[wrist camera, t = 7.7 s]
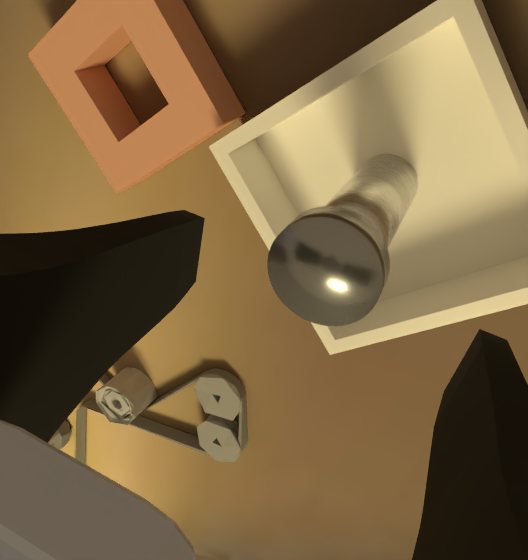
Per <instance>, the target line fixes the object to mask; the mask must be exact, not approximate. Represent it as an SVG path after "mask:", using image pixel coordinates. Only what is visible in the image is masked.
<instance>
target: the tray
mask: <svg viewBox="0 0 528 560" xmlns="http://www.w3.org/2000/svg"><path fill="white" fill-rule="evenodd" d="M209 148H210V150H211V151H212V153H213V155H214V157H215V158H216V160H217V162H218V163H219V165H220V167H221V169H222V170H223V172H224V174H225V175H226V177H227V179H228V181H229V182H230V184H231V186H232V187H233V189H234V191H235V193H236V194H237V196H238V198H239V199H240V201H241V203H242V205H243V206H244V208H245V210H246V212H247V213H248V215H249V217H250V218H251V220H252V222H253V224H254V225H255V227H256V229H257V230H258V232H259V234H260V236H261V237H262V239H263V241H264V242H265V244H266V246H267V248H268V249H269V251H270V248H271V245H272V243H273V241H274V240H275V239H276V237H277V236H278V235H279V234H280V233H281V232H282V231H283V230H284V229H285V228H286V227H287V226H288V225H289V224H290V223H291V222H292V221H293V220H294V219H295V218H296V217H297V216H298V215H300V214H301V213H303V212H305V211H307V210H309V209H312V208H316V207H321V206H326V204H327V203H328V202H329V201H330V200H331V199H332V198H333V197H334V196H335V195H336V194H337V192H338V191H339V190H340V189H341V188H342V187H343V186H344V185H345V184H346V183H347V182H348V181H349V179H350V178H351V177H352V176H353V175H354V174H355V173H356V172H357V171H358V170H359V169H360V167H361V166H362V165H363V164H364V163H365V162H366V161H367V160H369V159H370V158H372V157H374V156H376V155H380V154H394V155H397V156H400V157H402V158H403V159H405V160H406V161H408V162H409V163H410V164H411V166H412V167H413V169H414V170H415V172H416V175H417V179H418V189H417V193H416V195H415V198H414V199H413V201H412V203H411V205H410V207H409V209H408V211H407V213H406V215H405V217H404V218H403V220H402V222H401V224H400V226H399V228H398V230H397V232H396V234H395V236H394V237H393V239H392V241H391V243H390V245H389V247H388V252H389V258H390V271H389V276H388V279H387V282H386V284H385V286H384V288H383V290H382V292H381V295H380V297H379V299H378V301H377V303H376V305H375V306H374V308H373V309H372V310H371V311H370V312H369V313H368V314H367V315H366V316H365V317H363V318H362V319H360V320H358V321H357V322H354V323H351V324H348V325H344V326H324V325H319V324H315V323H312V322H311V323H312V325H313V327H314V328H315V330H316V332H317V334H318V335H319V337H320V339H321V340H322V342H323V344H324V346H325V347H326V349H327V351H328V352H329V354H330V355H331V354H335V353H339V352H343V351H347V350H350V349H354V348H358V347H362V346H366V345H370V344H374V343H378V342H381V341H385V340H389V339H393V338H397V337H401V336H405V335H409V334H413V333H416V332H420V331H424V330H428V329H432V328H436V327H440V326H444V325H447V324H451V323H455V322H459V321H463V320H467V319H471V318H475V317H478V316H482V315H486V314H490V313H494V312H498V311H502V310H506V309H510V308H513V307H517V306H521V305H525V304H528V111H527V108H526V106H525V103H524V101H523V99H522V96H521V94H520V91H519V89H518V87H517V84H516V82H515V79H514V77H513V74H512V72H511V70H510V67H509V65H508V62H507V60H506V58H505V55H504V53H503V50H502V48H501V46H500V43H499V41H498V38H497V36H496V34H495V31H494V29H493V26H492V24H491V21H490V19H489V17H488V14H487V12H486V9H485V7H484V5H483V2H482V0H437V1H435V2H434V3H432V4H431V5H429V6H427V7H426V8H424V9H423V10H421V11H420V12H418V13H416V14H415V15H413V16H412V17H410V18H409V19H407V20H406V21H404V22H402V23H401V24H399V25H398V26H396V27H395V28H393V29H392V30H390V31H388V32H387V33H385V34H384V35H382V36H381V37H379V38H377V39H376V40H374V41H373V42H371V43H370V44H368V45H367V46H365V47H363V48H362V49H360V50H359V51H357V52H356V53H354V54H353V55H351V56H349V57H348V58H346V59H345V60H343V61H342V62H340V63H338V64H337V65H335V66H334V67H332V68H331V69H329V70H328V71H326V72H324V73H323V74H321V75H320V76H318V77H317V78H315V79H314V80H312V81H310V82H309V83H307V84H306V85H304V86H303V87H301V88H299V89H298V90H296V91H295V92H293V93H292V94H290V95H289V96H287V97H285V98H284V99H282V100H281V101H279V102H278V103H276V104H275V105H273V106H271V107H270V108H268V109H267V110H265V111H264V112H262V113H260V114H259V115H257V116H256V117H254V118H253V119H251V120H250V121H248V122H246V123H245V124H243V125H242V126H240V127H239V128H237V129H236V130H234V131H232V132H231V133H229V134H228V135H226V136H225V137H223V138H221V139H220V140H218V141H217V142H215V143H214V144H212V145H211V146H209Z"/></svg>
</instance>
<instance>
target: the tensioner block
mask: <svg viewBox="0 0 528 560" xmlns="http://www.w3.org/2000/svg"><path fill="white" fill-rule="evenodd" d="M131 41H132V42H133V44H134V46H135V48H136V49H137V51H138V53H139V54H140V56H141V58H142V59H143V61H144V63H145V65H146V66H147V68H148V70H149V71H150V73H151V75H152V76H153V78H154V80H155V81H156V83H157V85H158V87H159V88H160V90H161V92H162V93H163V95H164V97H165V98H166V100H167V102H168V105H167V106H166V107H165V108H163V109H162V110H161V111H159V112H158V113H157V114H155V115H154V116H153V117H151V118H150V119H149V120H147V121H146V122H145V123H143V124H142V125H141V124H140V123H139V121H138V120H137V118H136V116H135V115H134V113H133V111H132V110H131V108H130V106H129V105H128V103H127V101H126V100H125V98H124V97H123V95H122V93H121V92H120V90H119V88H118V87H117V85H116V83H115V82H114V80H113V78H112V77H111V75H110V74H109V72H108V70H107V69H106V67H105V65H106V64H107V63H108V62H109V61H110V60H111V59H112V58H113V57H114V56H115V55H117V54H118V53H119V52H120V51H121V50H122V49H123V48H124V47H125V46H126V45H127V44H128V43H129V42H131ZM28 56H29V58H30V59H31V61H32V62H33V64H34V66H35V67H36V69H37V70H38V72H39V73H40V75H41V76H42V78H43V80H44V81H45V83H46V84H47V86H48V87H49V89H50V90H51V92H52V94H53V95H54V97H55V98H56V100H57V101H58V103H59V104H60V106H61V108H62V109H63V111H64V112H65V114H66V115H67V117H68V118H69V120H70V122H71V123H72V125H73V126H74V128H75V129H76V131H77V132H78V134H79V136H80V137H81V139H82V140H83V142H84V143H85V145H86V146H87V148H88V150H89V151H90V153H91V154H92V156H93V157H94V159H95V160H96V162H97V164H98V165H99V167H100V168H101V170H102V171H103V173H104V174H105V176H106V178H107V179H108V181H109V182H110V184H111V185H112V187H113V188H114V190H115V192H116V193H117V194H118V193H120V192H122V191H124V190H126V189H128V188H130V187H132V186H134V185H136V184H138V183H140V182H142V181H143V180H145V179H146V178H148V177H149V176H151V175H153V174H154V173H156V172H157V171H159V170H160V169H162V168H163V167H165V166H166V165H168V164H169V163H171V162H172V161H174V160H175V159H177V158H178V157H180V156H182V155H183V154H185V153H186V152H188V151H189V150H191V149H192V148H194V147H195V146H197V145H198V144H200V143H201V142H203V141H204V140H206V139H207V138H209V137H211V136H212V135H214V134H215V133H217V132H218V131H220V130H221V129H223V128H224V127H226V126H227V125H229V124H230V123H232V122H233V121H235V120H236V119H238V118H239V117H241V116H243V115H244V114H246V113H245V111H244V109H243V107H242V106H241V104H240V102H239V100H238V98H237V97H236V95H235V93H234V91H233V89H232V88H231V86H230V84H229V82H228V80H227V79H226V77H225V75H224V73H223V71H222V70H221V68H220V66H219V64H218V62H217V60H216V59H215V57H214V55H213V53H212V51H211V50H210V48H209V46H208V44H207V42H206V41H205V39H204V37H203V35H202V33H201V32H200V30H199V28H198V26H197V24H196V23H195V21H194V19H193V17H192V15H191V14H190V12H189V10H188V8H187V6H186V5H185V3H184V1H183V0H77V1H76V2H75V3H74V4H73V5H72V6H71V8H70V9H69V10H68V11H67V12H66V13H65V14H64V15H63V16H62V18H61V19H60V20H59V21H58V22H57V23H56V24H55V25H54V26H53V28H52V29H51V30H50V31H49V32H48V33H47V34H46V35H45V36H44V37H43V39H42V40H41V41H40V42H39V43H38V44H37V45H36V46H35V47H34V49H33V50H32V51H31V52H30V53H29V54H28Z"/></svg>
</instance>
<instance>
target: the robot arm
mask: <svg viewBox="0 0 528 560" xmlns="http://www.w3.org/2000/svg"><path fill="white" fill-rule="evenodd" d="M204 219H205V218H203V217H200V216H198V215H195V214H193V213H190V212H188V211H185V210H181V211H173V212H167V213H162V214H157V215H152V216H147V217H142V218H137V219H132V220H127V221H122V222H117V223H112V224H105V225H99V226H93V227H87V228H81V229H74V230H66V231H55V232H43V233H20V234H0V560H196V557H195V552H194V549H193V546H192V544H191V543H190V542H189V540H188V539H187V538H186V536H185V535H184V533H183V532H182V531H181V529H180V528H179V527H178V525H177V524H176V523H175V521H173V520H172V519H171V518H170V517H168V516H167V515H166V514H164V513H163V512H162V511H160V510H159V509H158V508H157V507H155V506H154V505H153V504H151V503H150V502H149V501H147V500H146V499H144V498H142V497H141V496H139V495H137V494H135V493H134V492H132V491H130V490H128V489H127V488H125V487H123V486H122V485H120V484H118V483H116V482H115V481H113V480H111V479H109V478H108V477H106V476H104V475H102V474H101V473H99V472H97V471H96V470H94V469H92V468H90V467H89V466H87V465H85V464H83V463H82V462H80V461H78V460H76V459H75V458H73V457H71V456H69V455H68V454H66V453H64V452H63V451H61V450H59V449H57V448H56V447H54V446H52V445H50V444H49V443H48V442H49V440H50V439H51V438H52V436H53V435H54V434H55V433H56V431H57V430H58V429H59V427H60V426H61V425H62V423H63V422H64V421H65V420H66V419H67V417H68V416H69V415H70V414H71V413H72V411H73V410H74V409H75V408H76V406H77V405H78V404H79V403H80V402H81V400H82V399H83V398H84V397H85V396H86V394H87V393H88V392H89V391H90V390H91V389H92V388H93V386H94V385H95V384H96V383H97V382H98V381H99V380H100V378H101V377H102V376H103V375H104V374H105V373H106V372H107V370H108V369H109V368H110V367H111V366H112V365H113V364H114V363H115V362H116V361H117V360H118V359H119V358H120V357H121V356H122V355H124V354H125V353H126V352H127V351H128V350H129V349H130V348H131V347H132V346H133V345H135V344H136V343H137V342H138V341H139V340H140V339H141V338H142V337H143V336H144V335H146V334H147V333H148V332H149V331H150V330H151V329H152V328H153V327H154V326H156V325H157V324H158V323H159V322H160V321H161V320H162V319H163V318H164V317H165V316H166V315H167V314H168V313H169V312H171V311H172V310H173V309H174V308H175V307H176V305H177V304H178V303H179V302H180V301H181V299H182V298H183V297H184V296H185V295H186V293H187V292H188V291H189V289H190V288H191V287H192V286H193V284H194V283H195V282H196V275H197V268H198V261H199V254H200V247H201V240H202V233H203V226H204ZM412 560H528V385H527V383H526V381H525V378H524V376H523V374H522V372H521V370H520V368H519V365H518V363H517V361H516V359H515V356H514V354H513V352H512V350H511V348H510V345H509V343H508V341H507V340H505V339H503V338H500V337H498V336H496V335H493V334H491V333H488V332H486V331H483V330H481V329H479V331H478V333H477V335H476V336H475V338H474V340H473V342H472V343H471V345H470V347H469V349H468V350H467V352H466V354H465V356H464V357H463V359H462V361H461V363H460V364H459V366H458V368H457V370H456V371H455V373H454V375H453V377H452V378H451V380H450V382H449V384H448V385H447V387H446V389H445V390H444V393H443V397H442V400H441V404H440V407H439V411H438V414H437V418H436V422H435V426H434V432H433V438H432V446H431V453H430V461H429V468H428V476H427V484H426V491H425V499H424V507H423V513H422V519H421V524H420V529H419V534H418V538H417V542H416V546H415V550H414V554H413V558H412Z"/></svg>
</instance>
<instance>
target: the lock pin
mask: <svg viewBox="0 0 528 560" xmlns="http://www.w3.org/2000/svg"><path fill="white" fill-rule="evenodd" d="M417 189H418V179H417V175H416V172H415V170H414V169H413V167H412V166H411V164H410V163H409V162H408V161H406V160H405V159H403V158H402V157H400V156H397V155H394V154H380V155H376V156H374V157H372V158H370V159H369V160H367V161H366V162H365V163H364V164H363V165H362V166H361V167H360V169H359V170H358V171H357V172H356V173H355V174H354V175H353V176H352V177H351V178H350V179H349V181H348V182H347V183H346V184H345V185H344V186H343V187H342V188H341V189H340V190H339V191H338V192H337V194H336V195H335V196H334V197H333V198H332V199H331V200H330V201H329V202H328V203H327V204H326V206H321V207H316V208H312V209H309V210H307V211H305V212H303V213H301V214H300V215H298V216H297V217H296V218H295V219H294V220H293V221H292V222H291V223H290V224H289V225H288V226H287V227H286V228H285V229H284V230H283V231H282V232H281V233H280V234H279V235H278V236H277V237H276V239H275V240H274V241H273V243H272V245H271V248H270V251H269V254H268V274H269V278H270V281H271V284H272V287H273V289H274V290H275V292H276V294H277V295H278V297H279V298H280V300H281V301H282V302H283V303H284V304H285V305H286V306H287V307H288V308H289V309H290V310H291V311H292V312H294V313H295V314H297V315H298V316H300V317H301V318H303V319H305V320H307V321H310V322H312V323H315V324H319V325H324V326H344V325H348V324H351V323H354V322H357V321H358V320H360V319H362V318H363V317H365V316H366V315H367V314H368V313H369V312H370V311H371V310H372V309H373V308H374V306H375V305H376V303H377V301H378V299H379V297H380V295H381V292H382V290H383V288H384V286H385V284H386V282H387V279H388V276H389V271H390V258H389V252H388V247H389V245H390V243H391V241H392V239H393V237H394V236H395V234H396V232H397V230H398V228H399V226H400V224H401V222H402V220H403V218H404V217H405V215H406V213H407V211H408V209H409V207H410V205H411V203H412V201H413V199H414V198H415V195H416V193H417Z"/></svg>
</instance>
